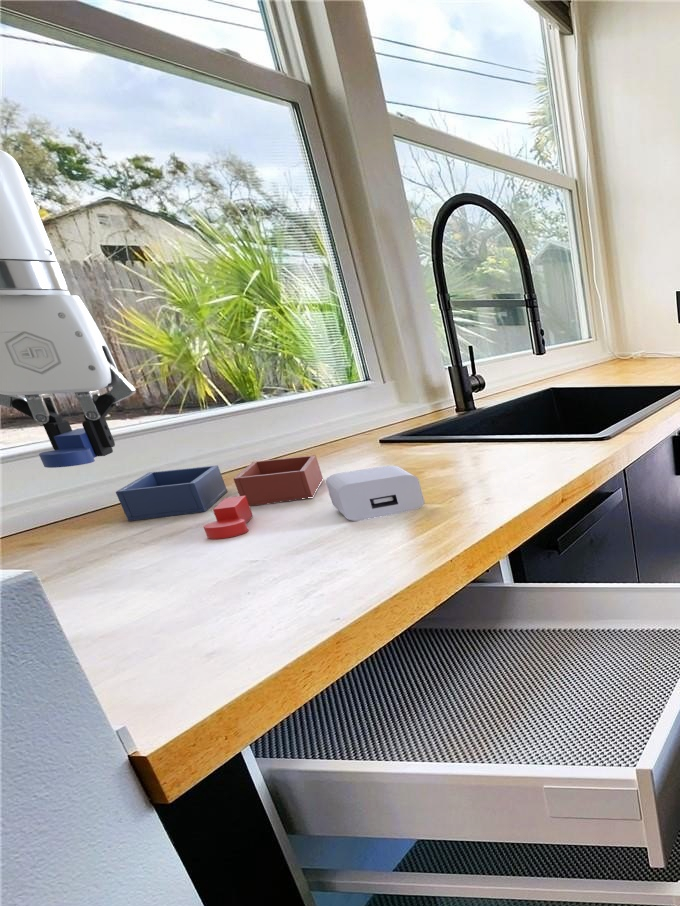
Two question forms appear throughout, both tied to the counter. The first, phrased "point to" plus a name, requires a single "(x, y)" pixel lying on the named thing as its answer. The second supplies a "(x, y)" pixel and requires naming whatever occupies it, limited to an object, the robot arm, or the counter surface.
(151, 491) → the navy bin
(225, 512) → the red stamp
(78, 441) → the navy stepped block
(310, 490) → the red bin
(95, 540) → the counter surface
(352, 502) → the charger
